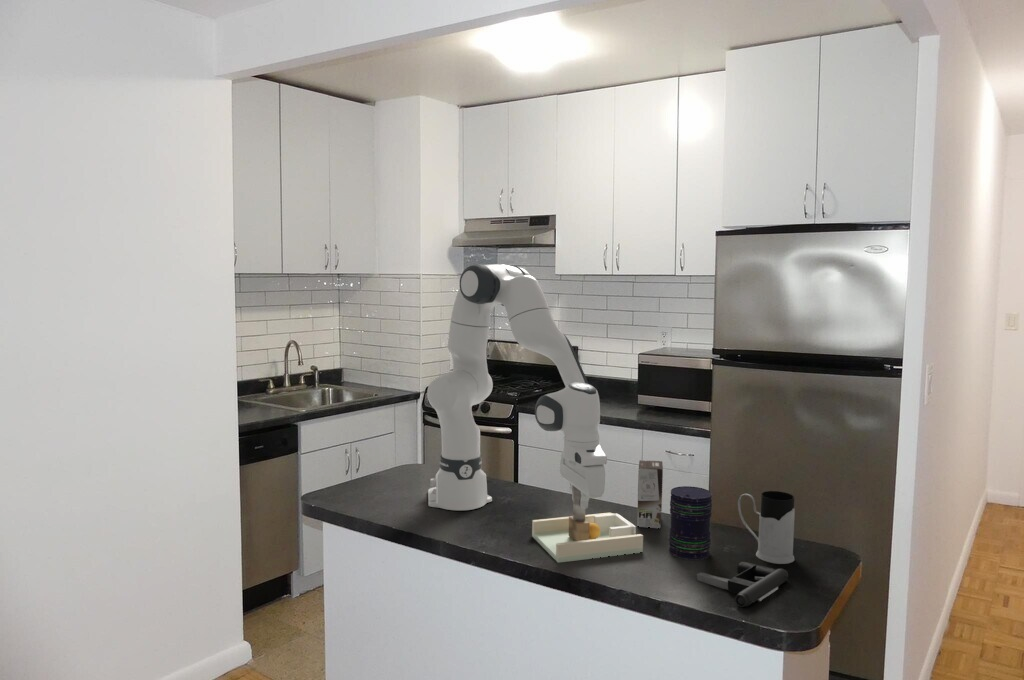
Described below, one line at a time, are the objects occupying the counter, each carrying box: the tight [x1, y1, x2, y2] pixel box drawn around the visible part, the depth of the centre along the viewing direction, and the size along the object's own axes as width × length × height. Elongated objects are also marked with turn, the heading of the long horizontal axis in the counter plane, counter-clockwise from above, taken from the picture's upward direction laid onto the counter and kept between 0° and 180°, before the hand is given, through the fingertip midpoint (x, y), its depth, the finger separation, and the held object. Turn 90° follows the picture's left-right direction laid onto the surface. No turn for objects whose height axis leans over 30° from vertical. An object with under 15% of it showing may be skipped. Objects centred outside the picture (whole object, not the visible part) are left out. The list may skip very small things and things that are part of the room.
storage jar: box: [668, 485, 713, 561], centre depth 181 cm, size 10×10×15 cm
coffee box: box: [636, 459, 664, 529], centre depth 202 cm, size 9×6×16 cm
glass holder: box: [737, 490, 796, 565], centre depth 181 cm, size 9×14×15 cm, turn 48°
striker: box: [568, 487, 590, 541], centre depth 185 cm, size 6×3×13 cm, turn 18°
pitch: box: [531, 512, 644, 564], centre depth 186 cm, size 18×22×5 cm
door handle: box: [696, 561, 789, 608], centre depth 163 cm, size 3×20×16 cm
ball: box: [589, 523, 600, 539], centre depth 187 cm, size 4×4×4 cm
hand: (580, 504), depth 185 cm, fingers closed on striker, 3 cm apart
